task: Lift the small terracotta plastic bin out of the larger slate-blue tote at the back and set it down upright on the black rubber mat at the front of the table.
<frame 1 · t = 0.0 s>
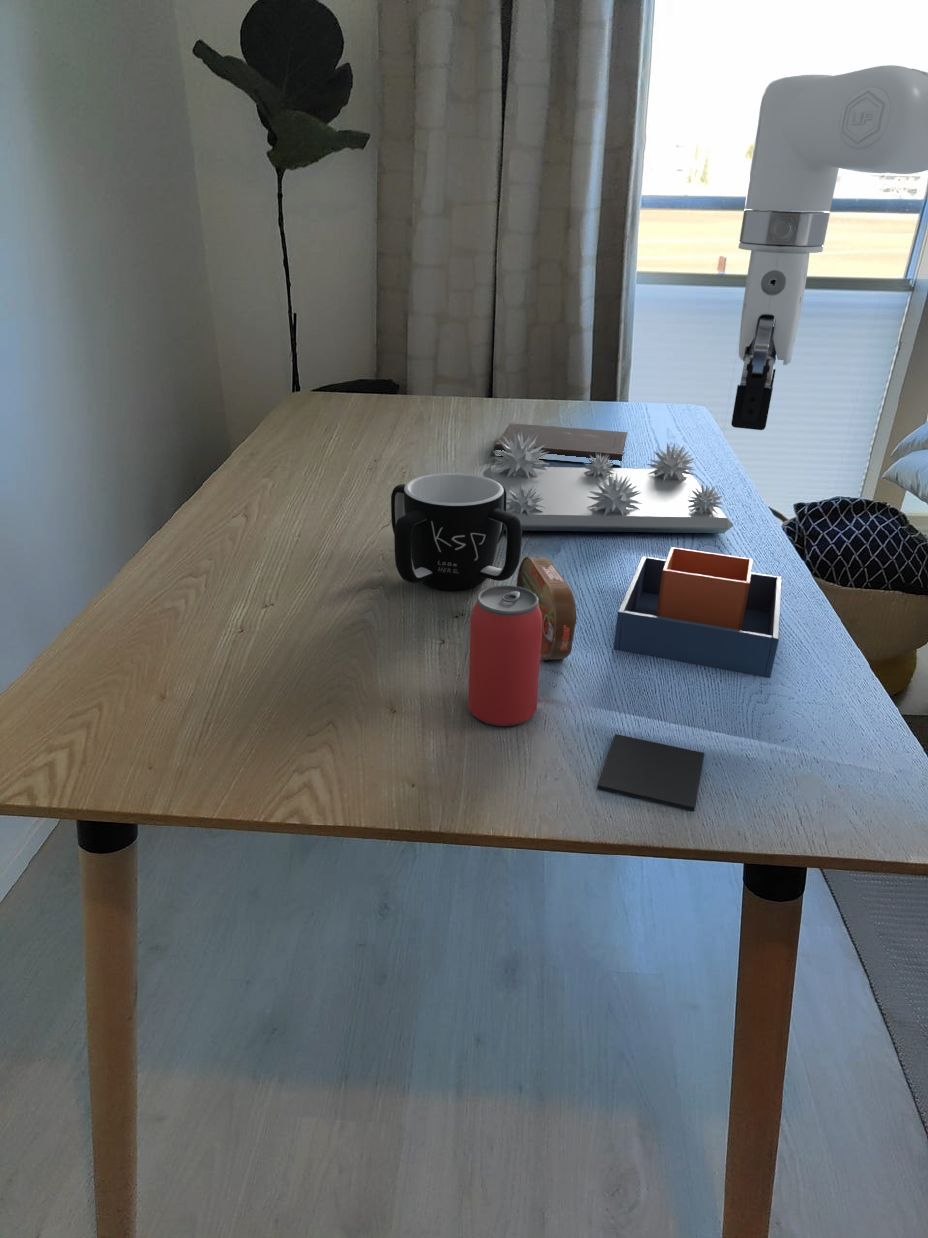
hand: (750, 416, 87), 24 cm above the table, tool pointing down, fingers open, 9 cm apart
decorative tray: (597, 509, 133), on the table
hardcover book: (562, 451, 161), on the table
small bin: (697, 629, 96), point 1 cm above the table, touching tote
tin: (542, 641, 95), on the table
mug: (452, 578, 109), on the table
tote: (697, 633, 97), on the table
beer can: (501, 712, 82), on the table
mat: (652, 772, 74), on the table
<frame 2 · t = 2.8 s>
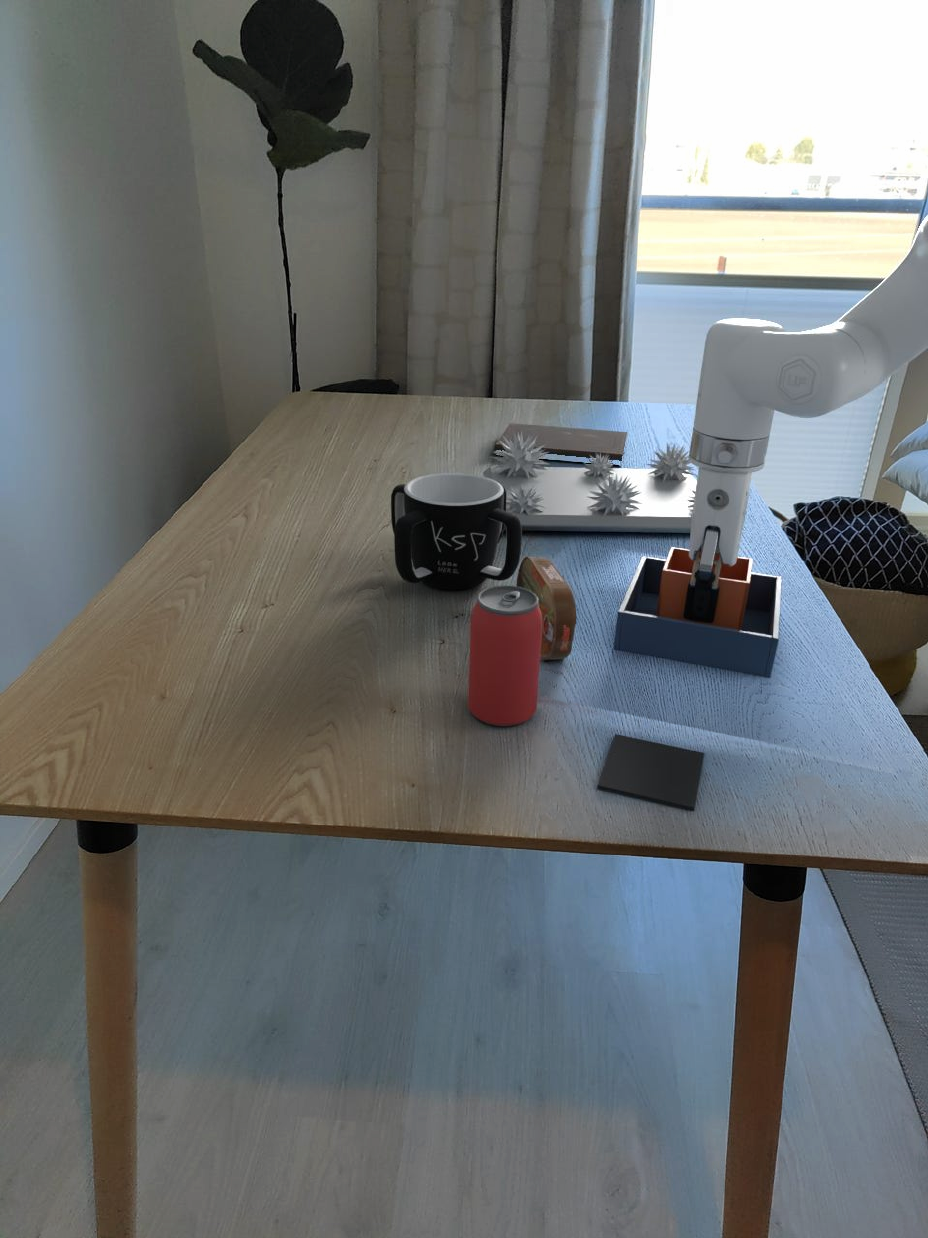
hand: (702, 603, 95), 4 cm above the table, tool pointing down, fingers closed on small bin, 7 cm apart
small bin: (697, 629, 96), point 1 cm above the table, touching gripper, tote
everything else where it was.
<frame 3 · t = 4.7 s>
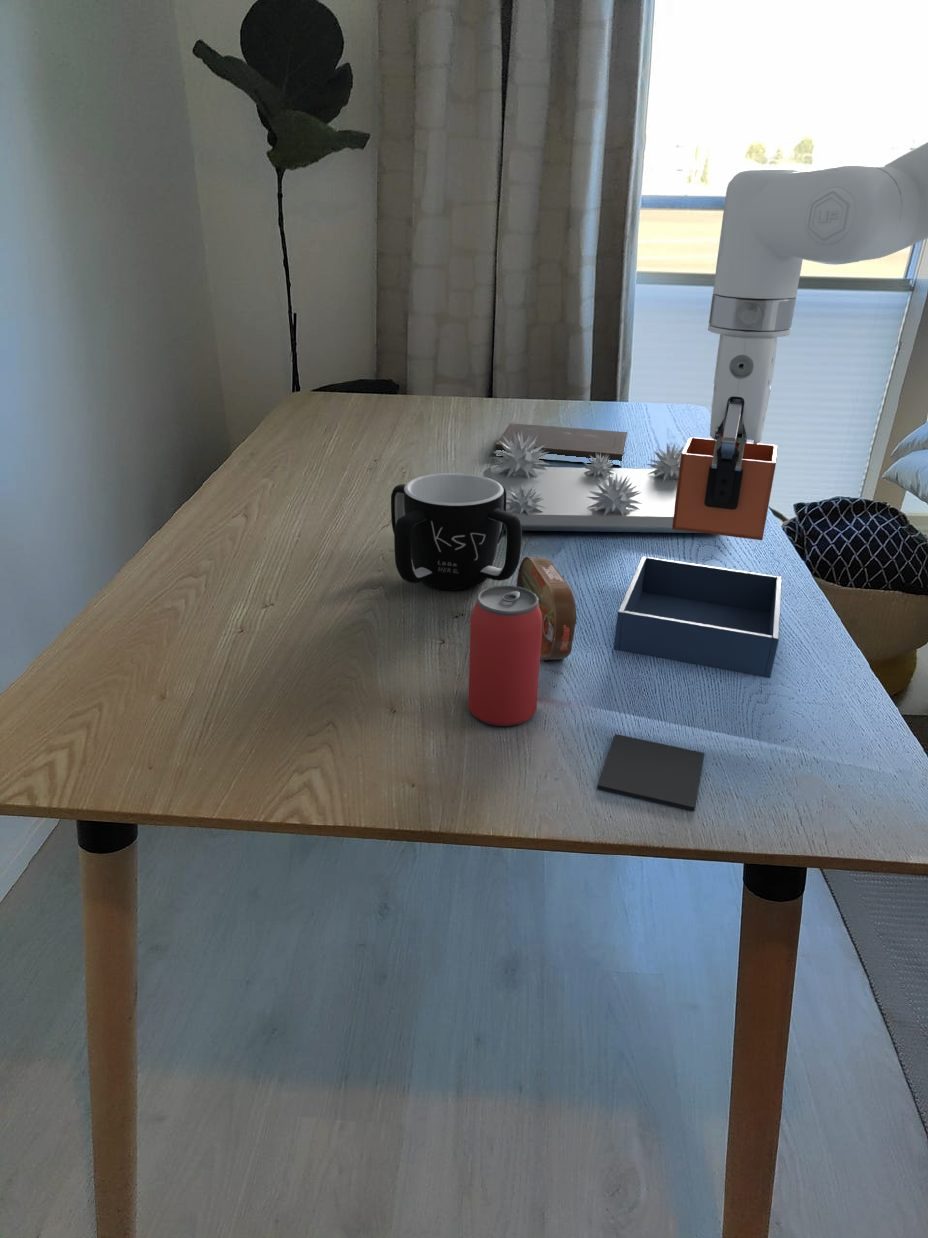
hand: (723, 494, 89), 17 cm above the table, tool pointing down, fingers closed on small bin, 7 cm apart
small bin: (719, 523, 90), point 13 cm above the table, touching gripper
everything else where it was.
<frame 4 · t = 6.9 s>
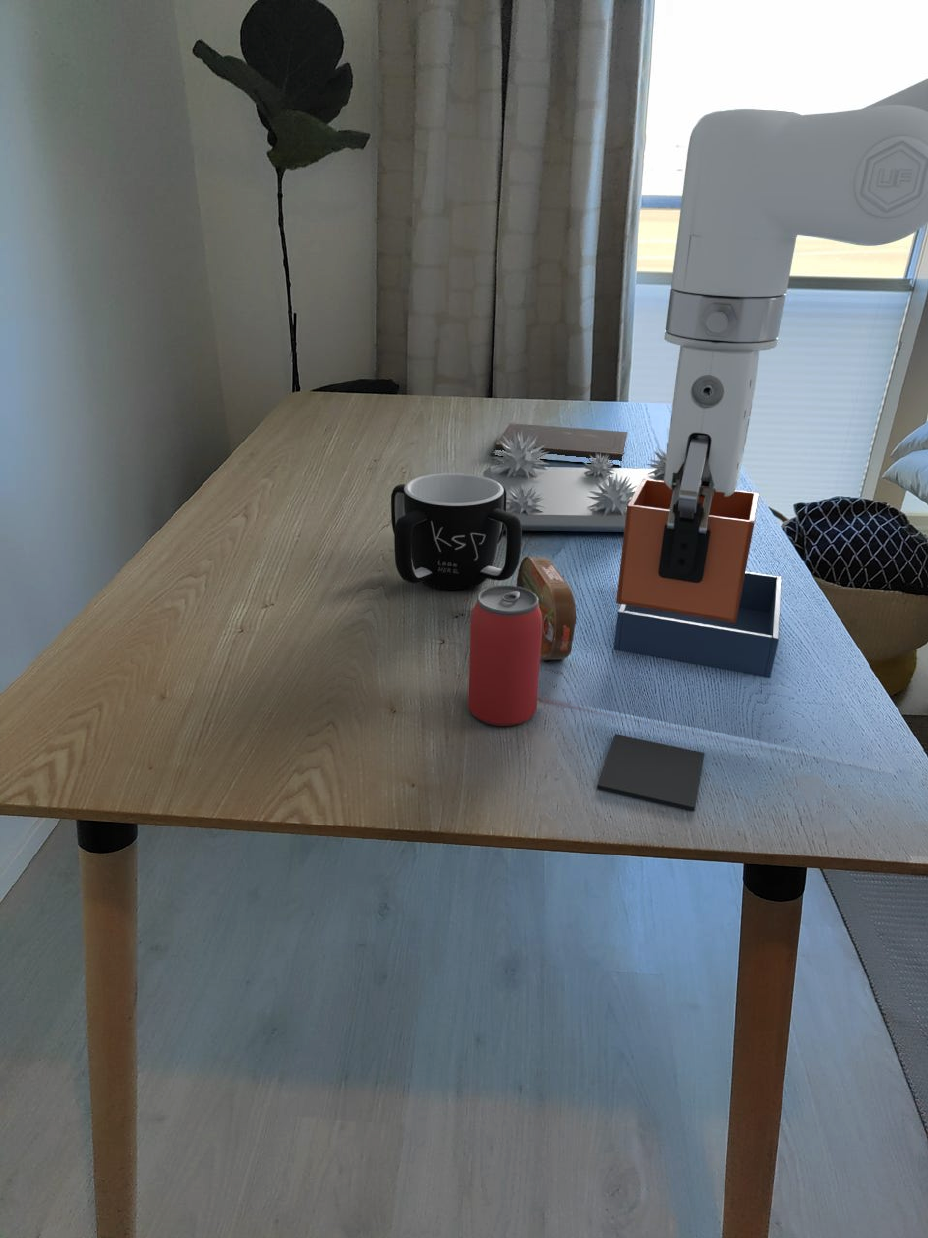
hand: (686, 557, 66), 19 cm above the table, tool pointing down, fingers closed on small bin, 7 cm apart
small bin: (680, 594, 68), point 16 cm above the table, touching gripper
everything else where it was.
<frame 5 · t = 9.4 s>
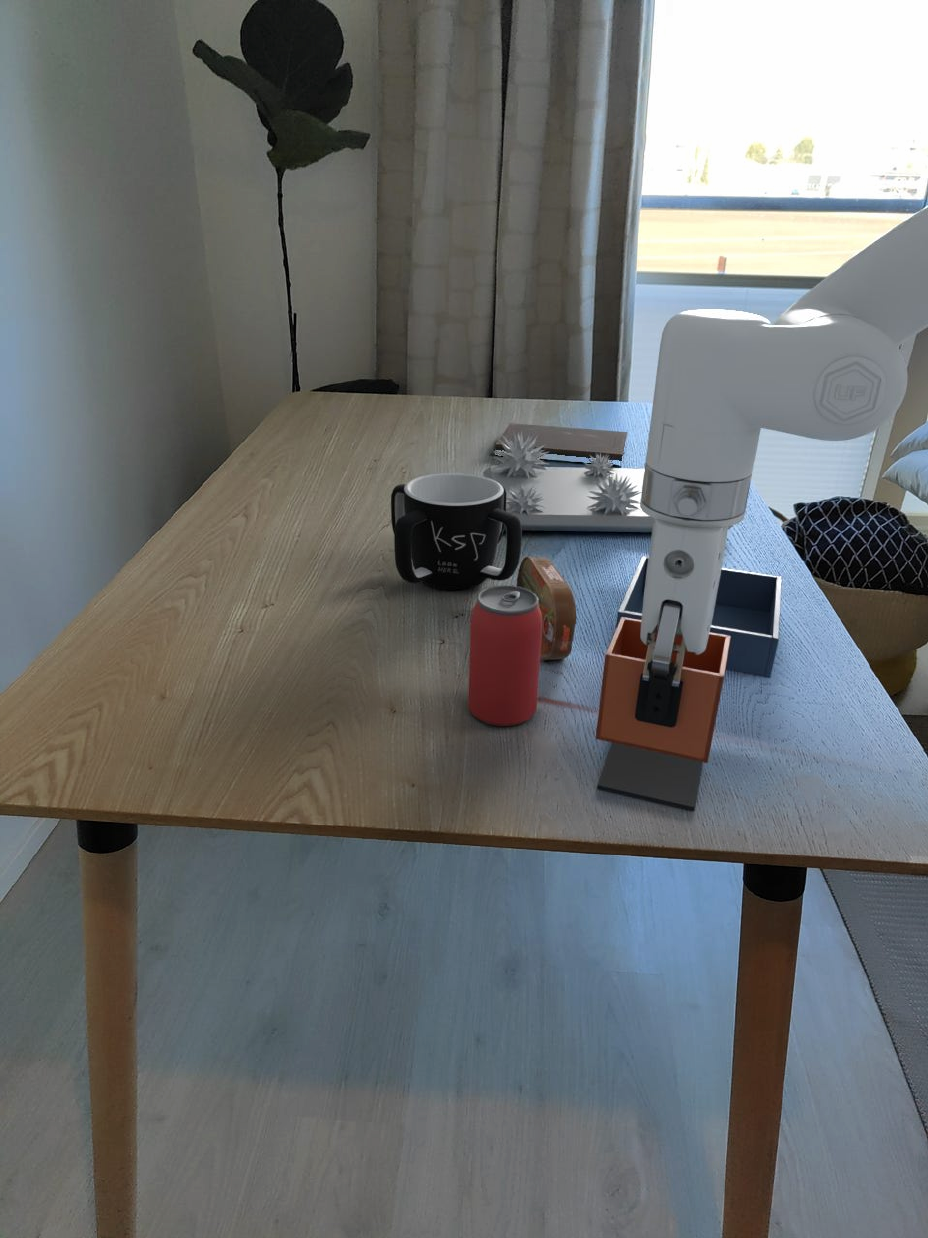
hand: (662, 695, 70), 8 cm above the table, tool pointing down, fingers closed on small bin, 7 cm apart
small bin: (656, 728, 72), point 5 cm above the table, touching gripper
everything else where it was.
when the fingers open (4 cm above the table, at t = 11.0 s): small bin stays where it is, resting on mat.
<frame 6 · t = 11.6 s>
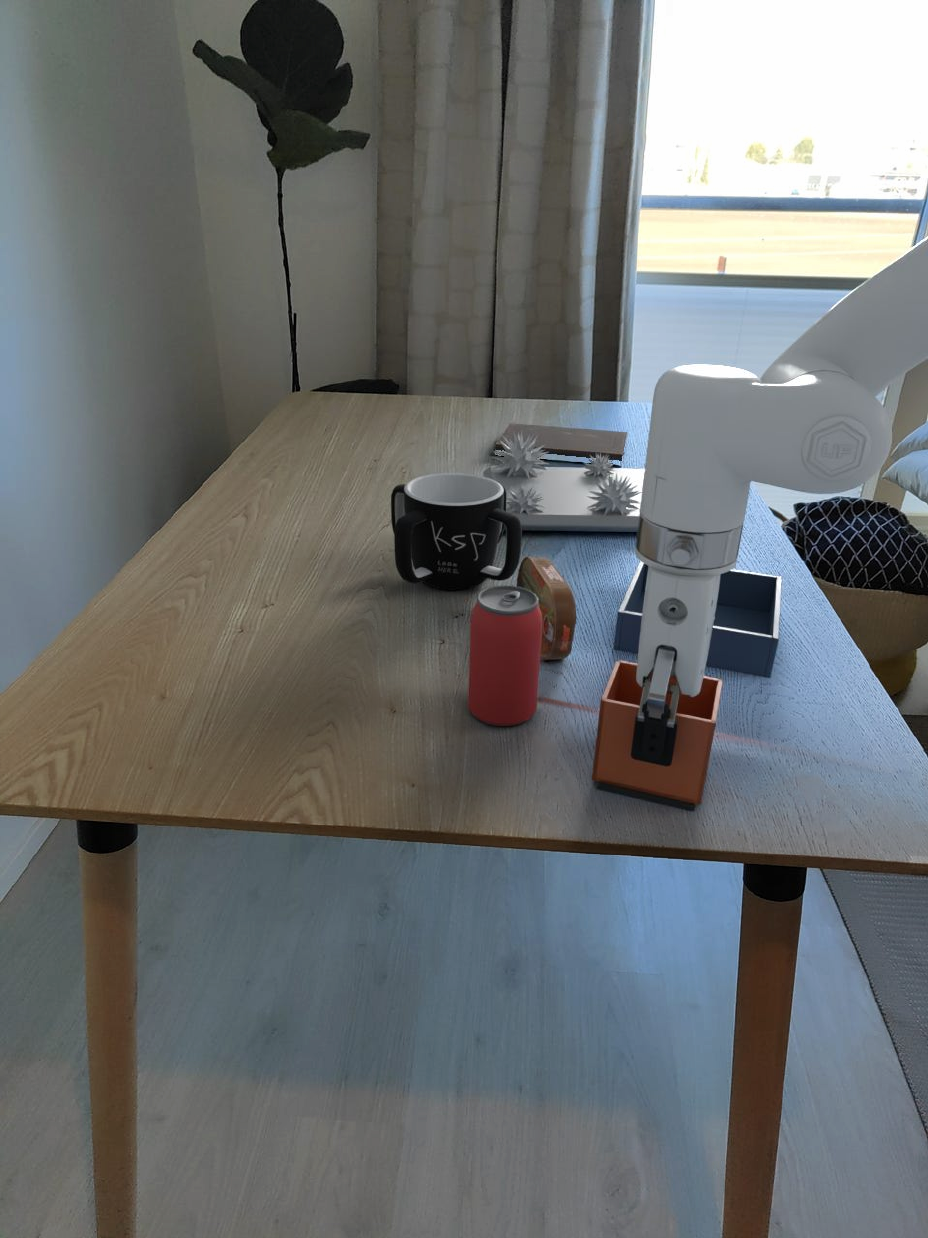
hand: (659, 728, 72), 5 cm above the table, tool pointing down, fingers open, 9 cm apart
small bin: (651, 768, 74), resting on mat
everything else where it was.
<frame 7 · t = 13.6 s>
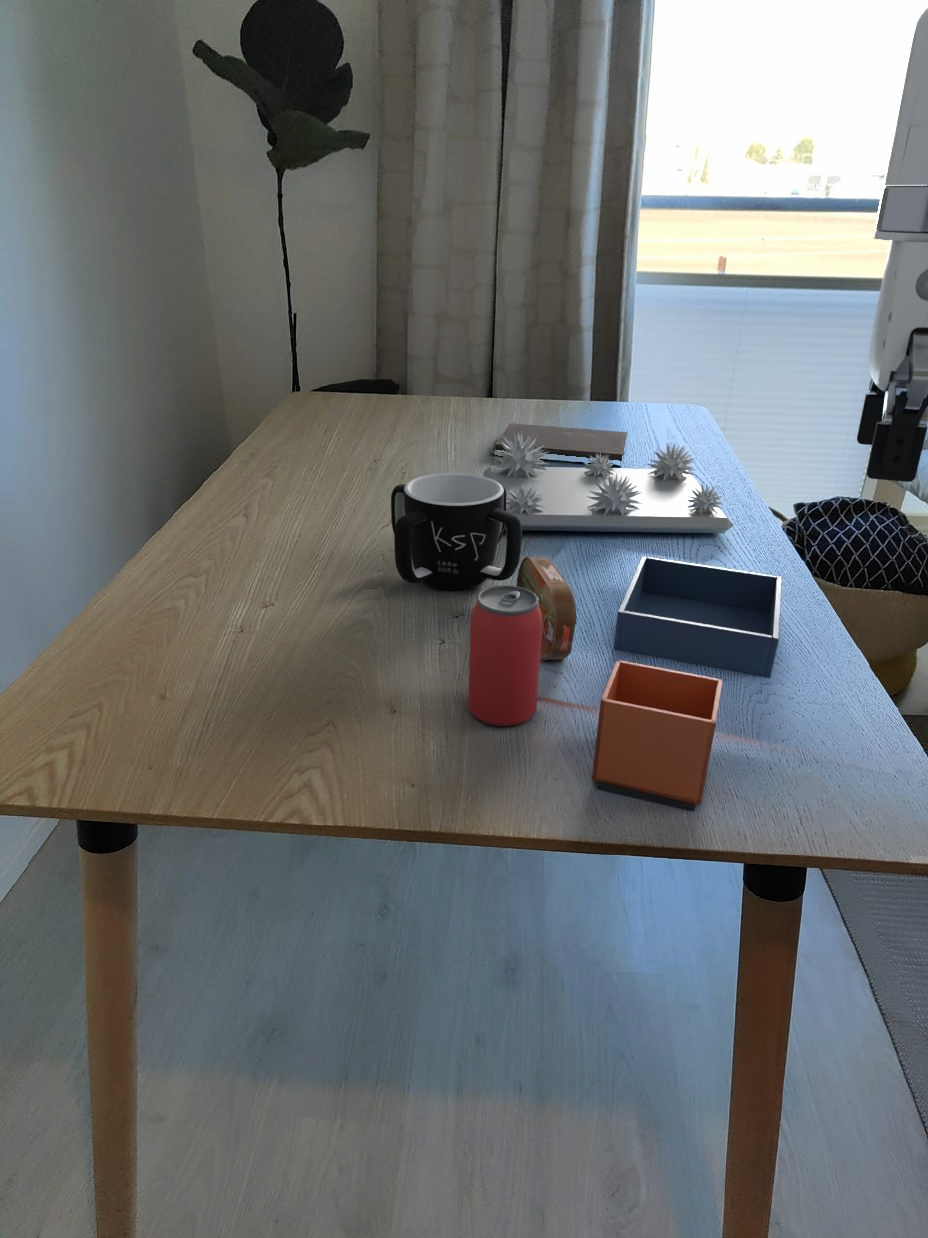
hand: (883, 460, 66), 27 cm above the table, tool pointing down, fingers open, 9 cm apart
nothing on the table moved.
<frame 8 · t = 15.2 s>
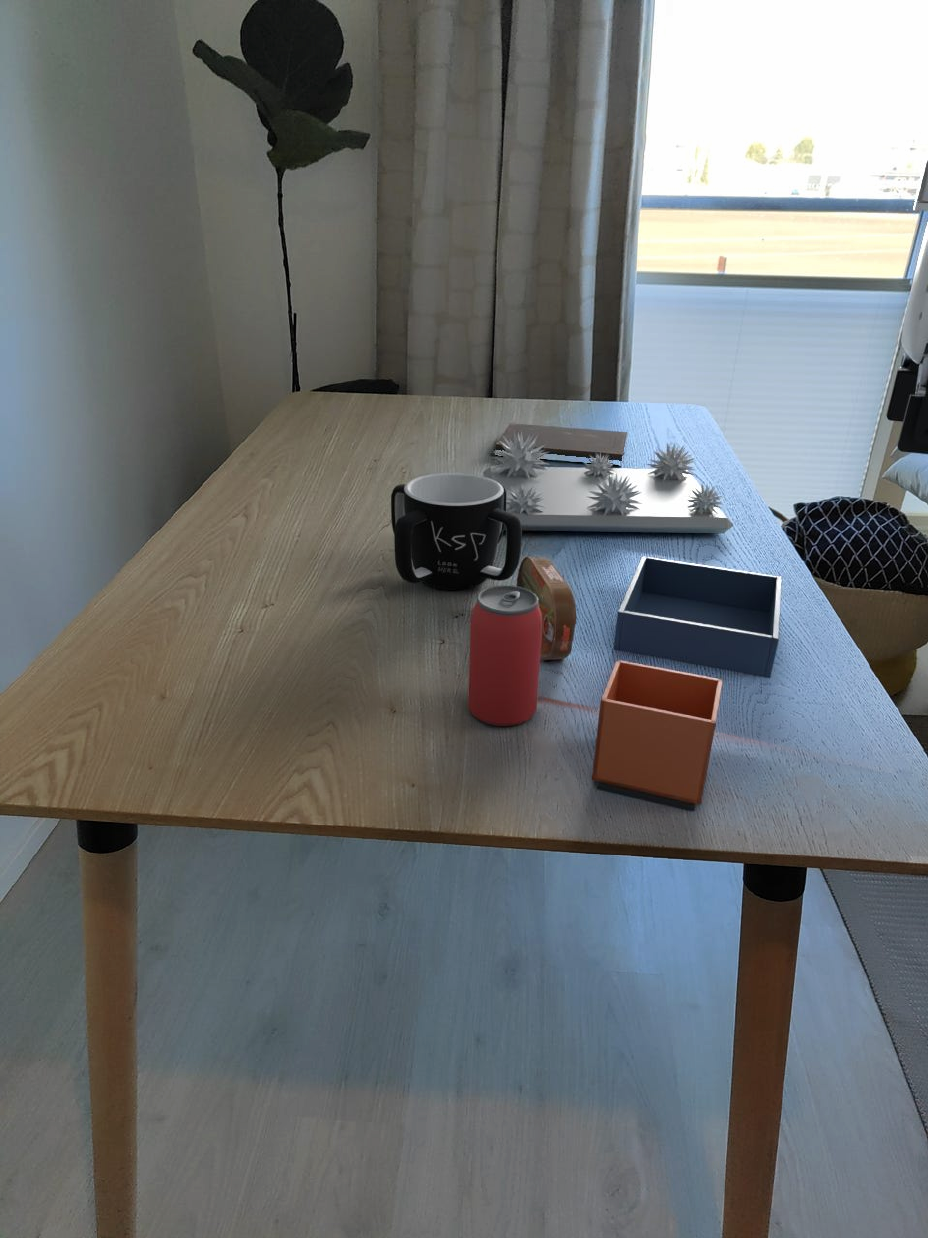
hand: (912, 435, 66), 28 cm above the table, tool pointing down, fingers open, 9 cm apart
nothing on the table moved.
at the end: small bin 0.1 cm off-centre on the mat, point 0.4 cm above the mat's base; small bin tilted 0°; small bin touching mat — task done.
